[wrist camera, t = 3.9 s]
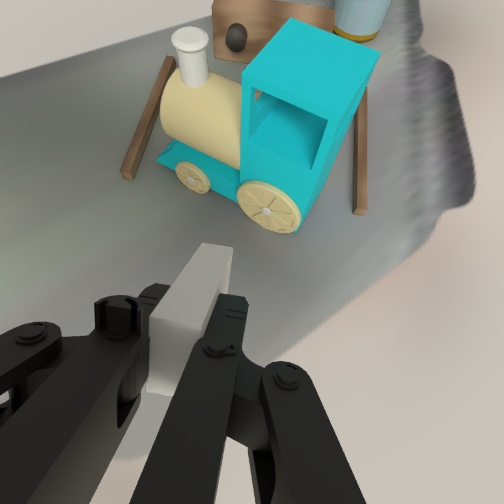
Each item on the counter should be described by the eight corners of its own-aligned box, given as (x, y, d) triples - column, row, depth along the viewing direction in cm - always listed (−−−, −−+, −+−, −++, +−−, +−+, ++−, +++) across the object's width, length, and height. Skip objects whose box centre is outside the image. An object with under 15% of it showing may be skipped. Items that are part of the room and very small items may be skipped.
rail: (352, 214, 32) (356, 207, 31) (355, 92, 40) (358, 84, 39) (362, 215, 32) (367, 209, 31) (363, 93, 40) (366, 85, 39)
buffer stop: (212, 66, 40) (208, 15, 35) (219, 43, 42) (216, -8, 37) (320, 82, 40) (334, 33, 35) (322, 59, 42) (335, 9, 36)
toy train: (194, 124, 36) (169, -37, 23) (324, 186, 34) (385, 46, 20) (152, 171, 33) (95, 18, 20) (291, 243, 31) (336, 124, 17)
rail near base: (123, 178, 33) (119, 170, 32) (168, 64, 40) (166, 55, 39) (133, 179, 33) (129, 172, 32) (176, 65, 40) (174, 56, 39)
